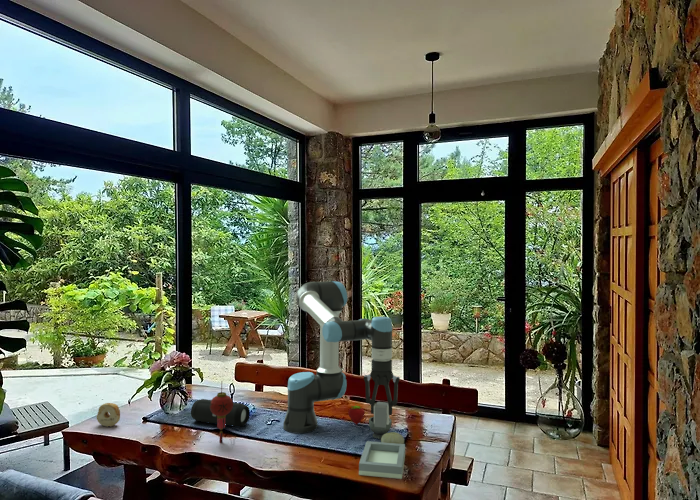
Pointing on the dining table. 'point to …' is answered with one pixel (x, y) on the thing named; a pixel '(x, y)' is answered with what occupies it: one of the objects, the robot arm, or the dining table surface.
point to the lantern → (221, 409)
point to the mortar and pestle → (379, 428)
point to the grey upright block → (380, 414)
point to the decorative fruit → (356, 414)
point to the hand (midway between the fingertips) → (381, 422)
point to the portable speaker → (203, 414)
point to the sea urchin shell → (392, 438)
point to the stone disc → (104, 416)
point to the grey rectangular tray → (382, 460)
